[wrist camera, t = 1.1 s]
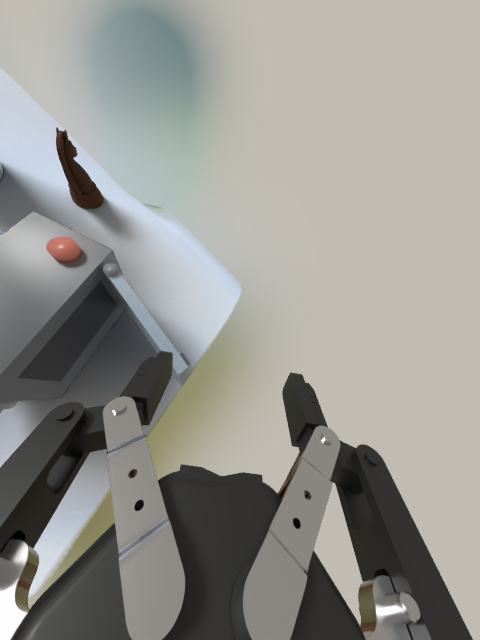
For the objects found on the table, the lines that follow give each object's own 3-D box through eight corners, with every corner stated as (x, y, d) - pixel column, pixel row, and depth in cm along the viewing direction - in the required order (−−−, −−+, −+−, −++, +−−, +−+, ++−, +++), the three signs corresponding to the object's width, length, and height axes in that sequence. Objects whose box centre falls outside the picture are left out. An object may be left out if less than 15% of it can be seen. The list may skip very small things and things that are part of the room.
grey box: (-24, 390, 22) (-227, 389, 11) (82, 275, 30) (27, 204, 19) (49, 414, 24) (-66, 436, 12) (132, 298, 31) (110, 244, 20)
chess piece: (105, 193, 36) (83, 128, 27) (100, 213, 34) (75, 151, 26) (75, 186, 35) (42, 115, 26) (69, 207, 33) (31, 139, 24)
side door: (175, 380, 28) (177, 374, 19) (123, 306, 29) (100, 266, 20) (187, 371, 29) (195, 361, 20) (136, 300, 30) (120, 258, 21)
